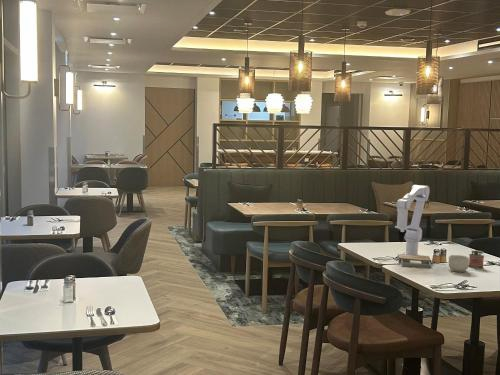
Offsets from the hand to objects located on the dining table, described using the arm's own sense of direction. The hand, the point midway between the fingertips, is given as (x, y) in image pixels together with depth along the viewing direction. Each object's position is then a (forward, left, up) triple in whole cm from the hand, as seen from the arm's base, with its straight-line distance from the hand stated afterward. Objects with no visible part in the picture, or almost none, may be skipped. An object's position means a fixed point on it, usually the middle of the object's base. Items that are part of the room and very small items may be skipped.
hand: (400, 241), depth 360 cm
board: (+3, +8, -10) cm, 14 cm away
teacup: (+19, +30, -11) cm, 37 cm away
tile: (+16, +8, -8) cm, 20 cm away
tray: (+15, +8, -10) cm, 20 cm away
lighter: (+8, +42, -11) cm, 44 cm away
